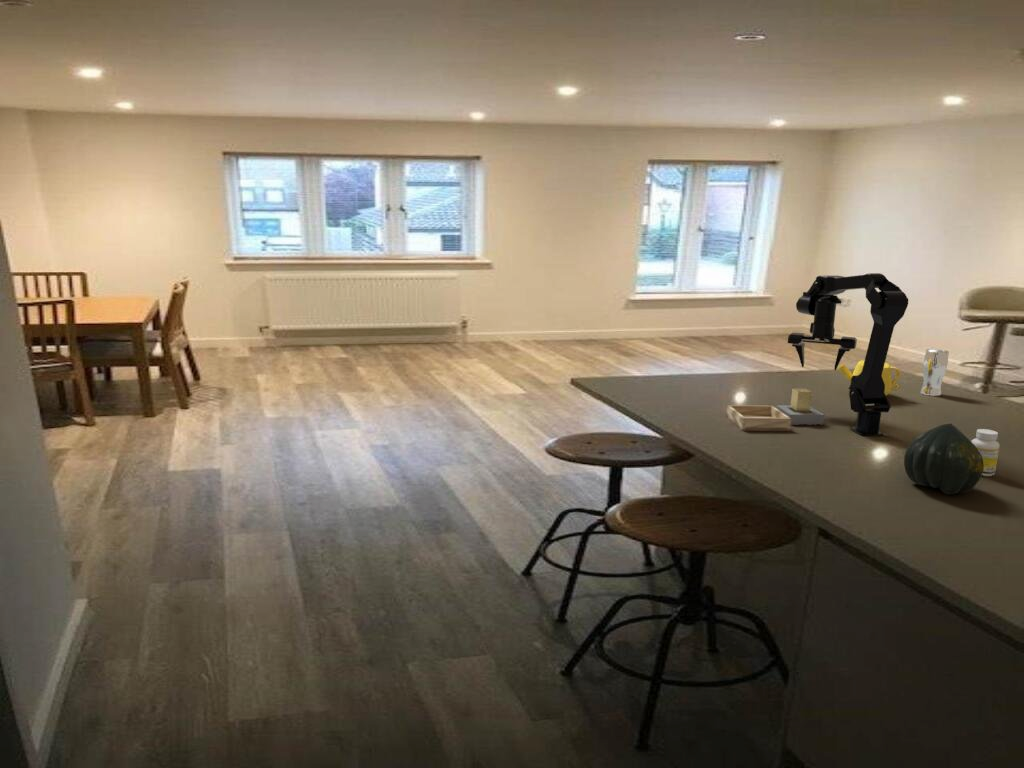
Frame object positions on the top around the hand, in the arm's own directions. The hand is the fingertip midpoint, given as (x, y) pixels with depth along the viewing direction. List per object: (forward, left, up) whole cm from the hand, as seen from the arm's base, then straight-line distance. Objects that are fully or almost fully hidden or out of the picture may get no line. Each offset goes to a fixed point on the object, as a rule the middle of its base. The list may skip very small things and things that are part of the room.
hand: (818, 368), depth 216 cm
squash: (-62, 0, -14) cm, 64 cm away
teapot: (+20, -27, -14) cm, 36 cm away
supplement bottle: (-53, -16, -14) cm, 57 cm away
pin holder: (-10, +9, -13) cm, 19 cm away
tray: (-14, +23, -13) cm, 30 cm away
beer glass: (+22, -51, -14) cm, 57 cm away
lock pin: (-10, +9, -13) cm, 19 cm away
